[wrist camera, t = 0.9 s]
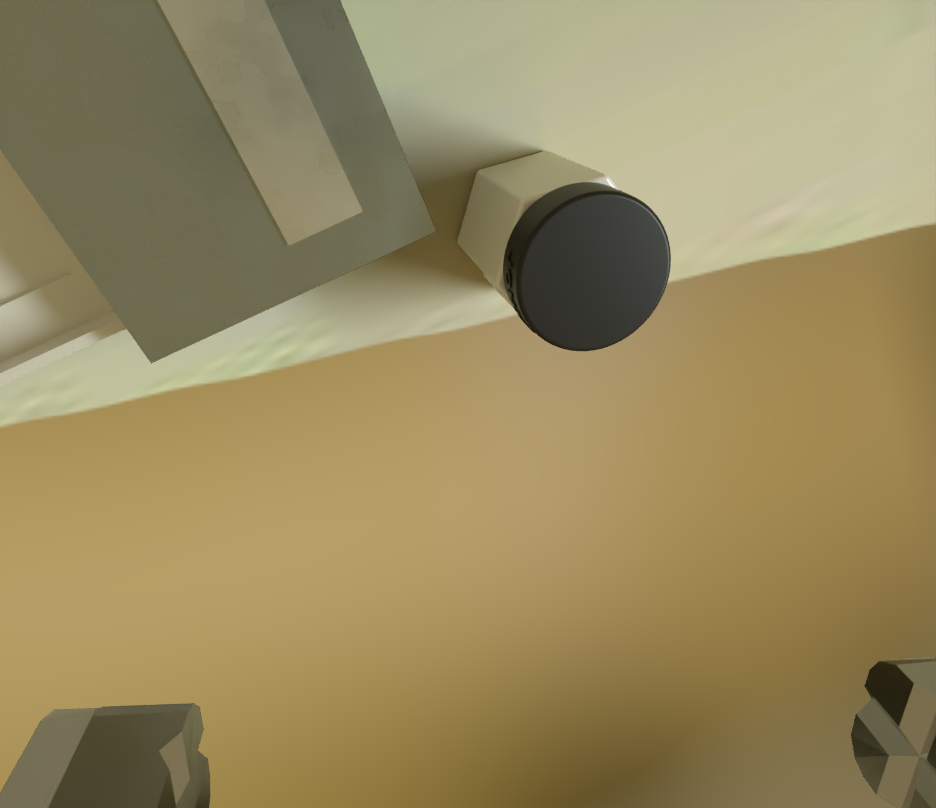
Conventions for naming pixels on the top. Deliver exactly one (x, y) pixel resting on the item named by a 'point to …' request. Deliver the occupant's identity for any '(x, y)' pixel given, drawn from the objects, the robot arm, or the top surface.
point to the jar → (566, 249)
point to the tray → (42, 288)
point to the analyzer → (203, 153)
